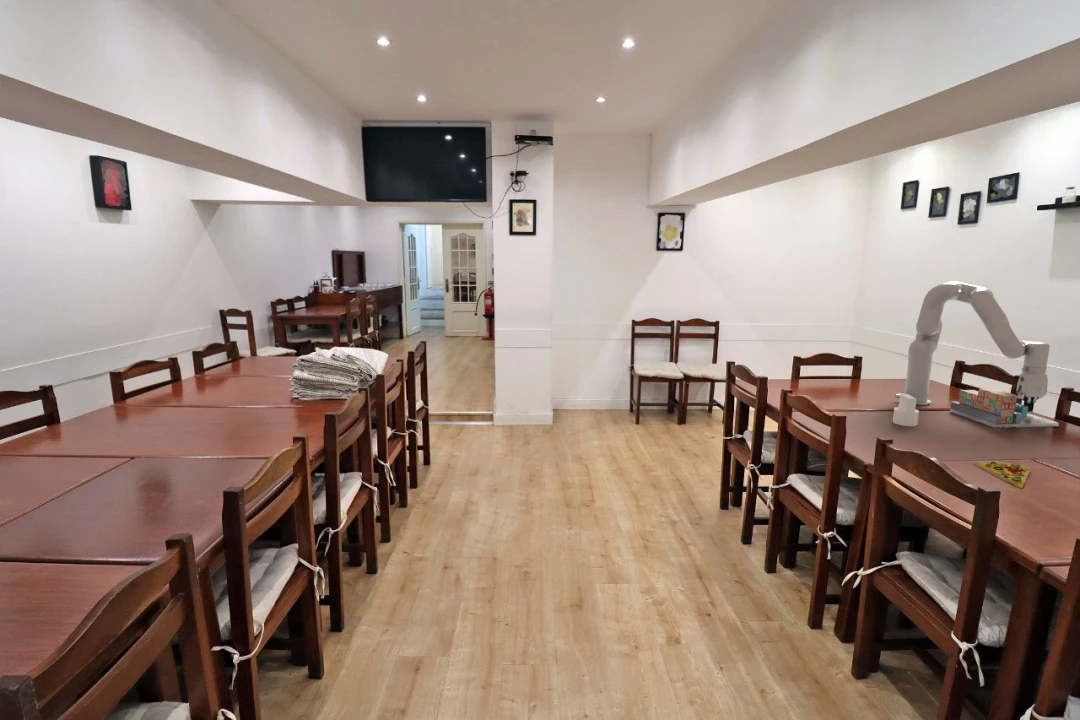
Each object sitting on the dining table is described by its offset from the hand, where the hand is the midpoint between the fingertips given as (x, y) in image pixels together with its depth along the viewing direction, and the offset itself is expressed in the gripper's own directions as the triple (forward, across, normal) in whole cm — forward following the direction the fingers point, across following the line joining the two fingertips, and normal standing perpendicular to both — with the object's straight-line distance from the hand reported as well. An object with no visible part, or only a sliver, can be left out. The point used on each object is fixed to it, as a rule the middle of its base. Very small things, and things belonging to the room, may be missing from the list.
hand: (1027, 410), depth 243 cm
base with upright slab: (+4, -58, -3) cm, 58 cm away
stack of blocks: (+2, -20, 0) cm, 20 cm away
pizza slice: (+4, -64, -61) cm, 89 cm away
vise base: (+3, -11, 0) cm, 12 cm away
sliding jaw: (+1, -11, 0) cm, 11 cm away
